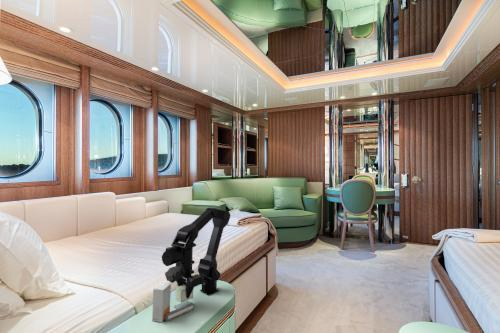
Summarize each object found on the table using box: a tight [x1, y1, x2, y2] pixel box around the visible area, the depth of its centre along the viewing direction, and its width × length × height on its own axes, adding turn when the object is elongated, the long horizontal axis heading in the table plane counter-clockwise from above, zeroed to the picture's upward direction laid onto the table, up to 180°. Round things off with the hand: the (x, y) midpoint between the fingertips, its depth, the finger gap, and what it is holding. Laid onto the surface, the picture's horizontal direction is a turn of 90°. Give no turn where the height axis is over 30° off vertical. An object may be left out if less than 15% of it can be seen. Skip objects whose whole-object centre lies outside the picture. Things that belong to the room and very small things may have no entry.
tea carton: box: [175, 285, 194, 304], centre depth 108 cm, size 4×6×5 cm
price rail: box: [164, 302, 195, 322], centre depth 101 cm, size 12×1×2 cm, turn 138°
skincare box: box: [151, 282, 172, 323], centre depth 99 cm, size 6×4×12 cm
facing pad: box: [173, 300, 195, 310], centre depth 108 cm, size 7×5×1 cm
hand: (184, 296), depth 108 cm, fingers closed on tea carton, 4 cm apart
